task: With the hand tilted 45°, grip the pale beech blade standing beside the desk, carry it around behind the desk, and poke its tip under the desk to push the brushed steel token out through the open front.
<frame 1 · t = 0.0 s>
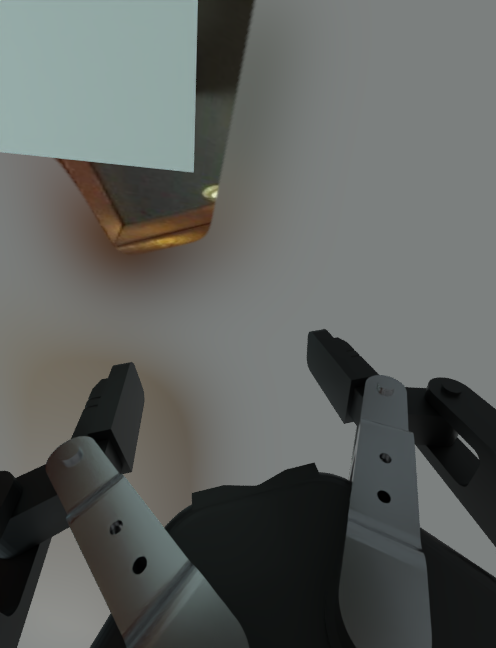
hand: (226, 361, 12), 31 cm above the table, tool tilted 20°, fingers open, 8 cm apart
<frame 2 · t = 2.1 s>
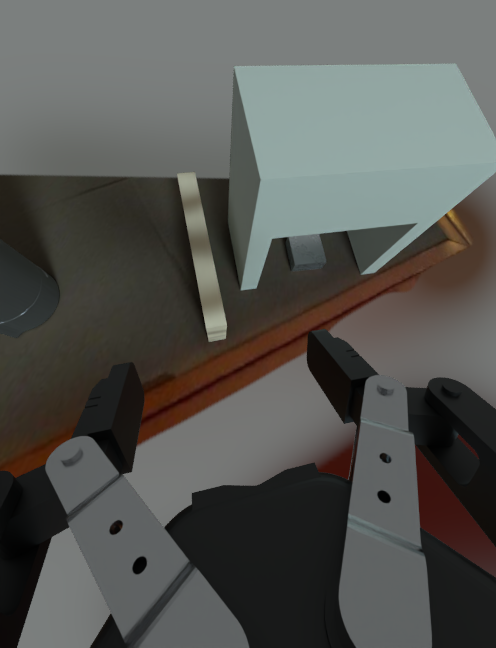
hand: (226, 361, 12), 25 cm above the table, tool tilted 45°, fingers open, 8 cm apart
steel token: (302, 256, 43), on the table
beech blade: (203, 271, 41), on the table
desk: (301, 247, 43), on the table
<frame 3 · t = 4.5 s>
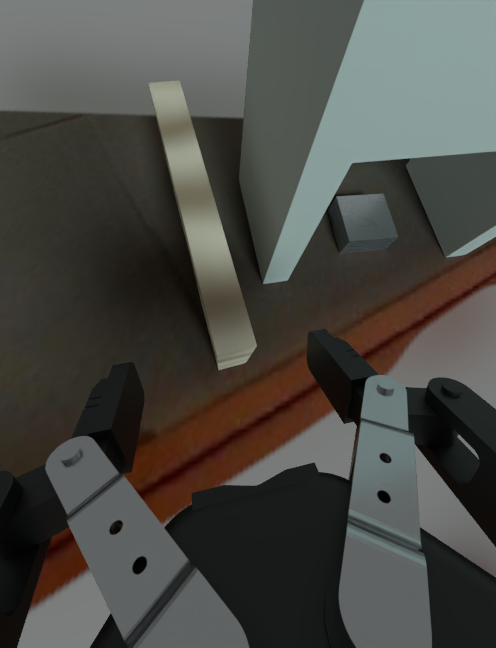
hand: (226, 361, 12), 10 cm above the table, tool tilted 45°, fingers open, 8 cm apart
steel token: (354, 231, 28), on the table
beech blade: (202, 254, 25), on the table
desk: (352, 217, 28), on the table
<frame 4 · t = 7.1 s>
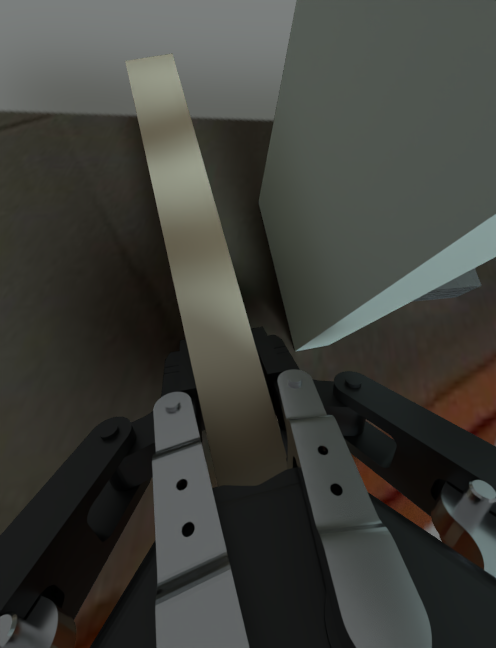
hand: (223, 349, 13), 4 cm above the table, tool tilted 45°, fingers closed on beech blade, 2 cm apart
steel token: (413, 271, 21), on the table
beech blade: (213, 304, 18), on the table, touching gripper
desk: (409, 252, 21), on the table
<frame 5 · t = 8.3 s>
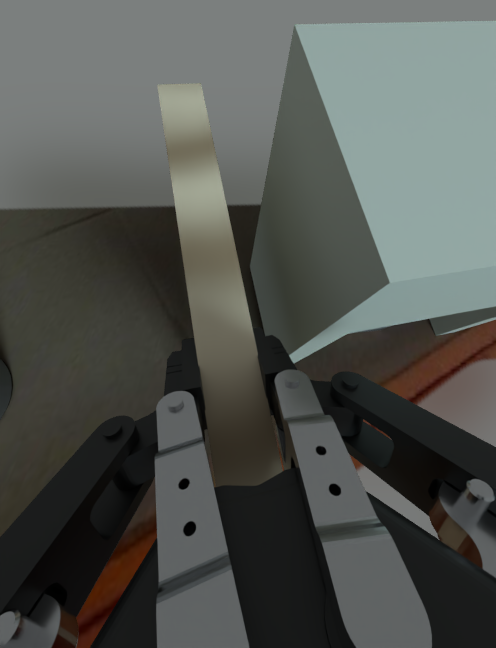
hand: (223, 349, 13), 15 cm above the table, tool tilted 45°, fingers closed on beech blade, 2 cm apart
beech blade: (214, 312, 19), point 10 cm above the table, touching gripper
desk: (351, 299, 31), on the table
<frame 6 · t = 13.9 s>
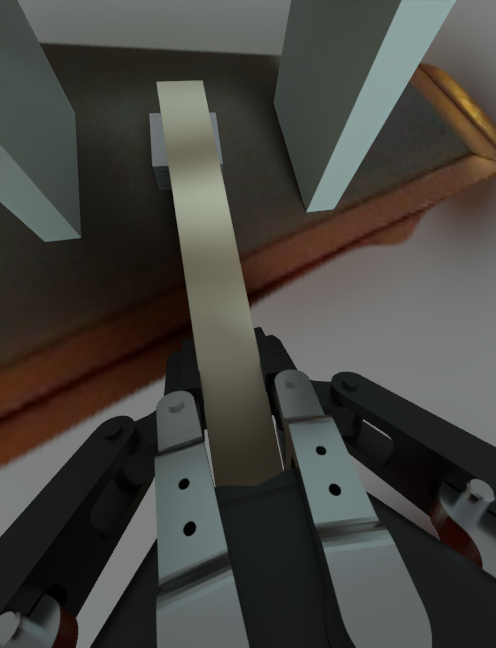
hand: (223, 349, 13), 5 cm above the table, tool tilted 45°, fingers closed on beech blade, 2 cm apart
steel token: (189, 165, 22), on the table, touching beech blade
beech blade: (215, 318, 19), on the table, touching gripper, steel token
desk: (189, 162, 22), on the table
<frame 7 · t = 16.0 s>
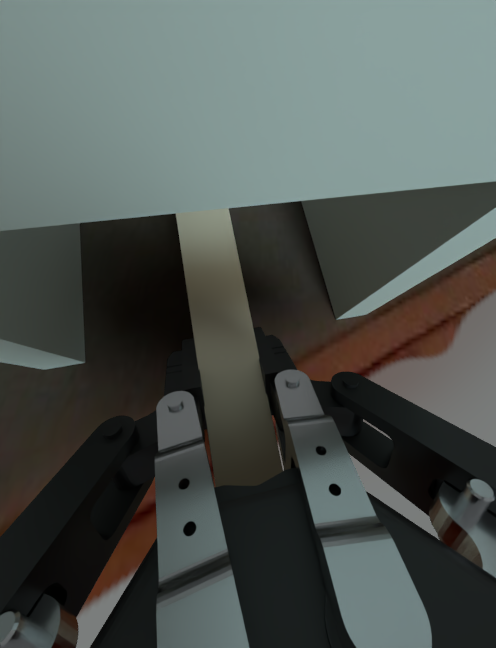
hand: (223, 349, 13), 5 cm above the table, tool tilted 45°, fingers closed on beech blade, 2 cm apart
beech blade: (217, 328, 18), on the table, touching gripper
desk: (205, 261, 20), on the table
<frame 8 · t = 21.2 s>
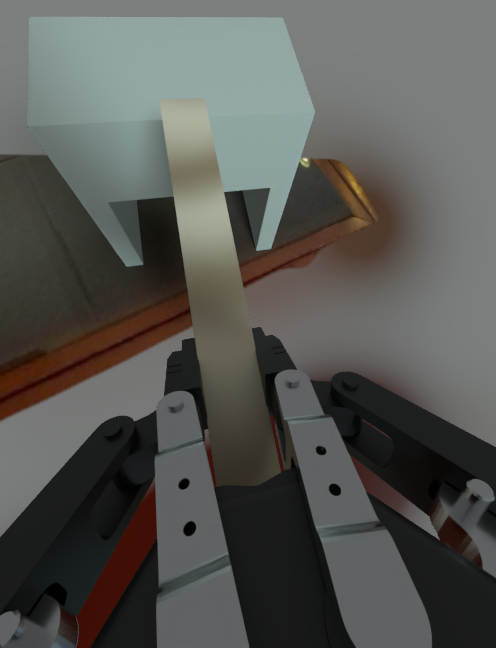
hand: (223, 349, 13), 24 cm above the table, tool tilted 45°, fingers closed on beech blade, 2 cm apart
beech blade: (217, 328, 19), point 19 cm above the table, touching gripper
desk: (195, 224, 42), on the table
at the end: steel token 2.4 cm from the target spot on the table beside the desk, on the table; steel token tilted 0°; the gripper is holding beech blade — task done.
